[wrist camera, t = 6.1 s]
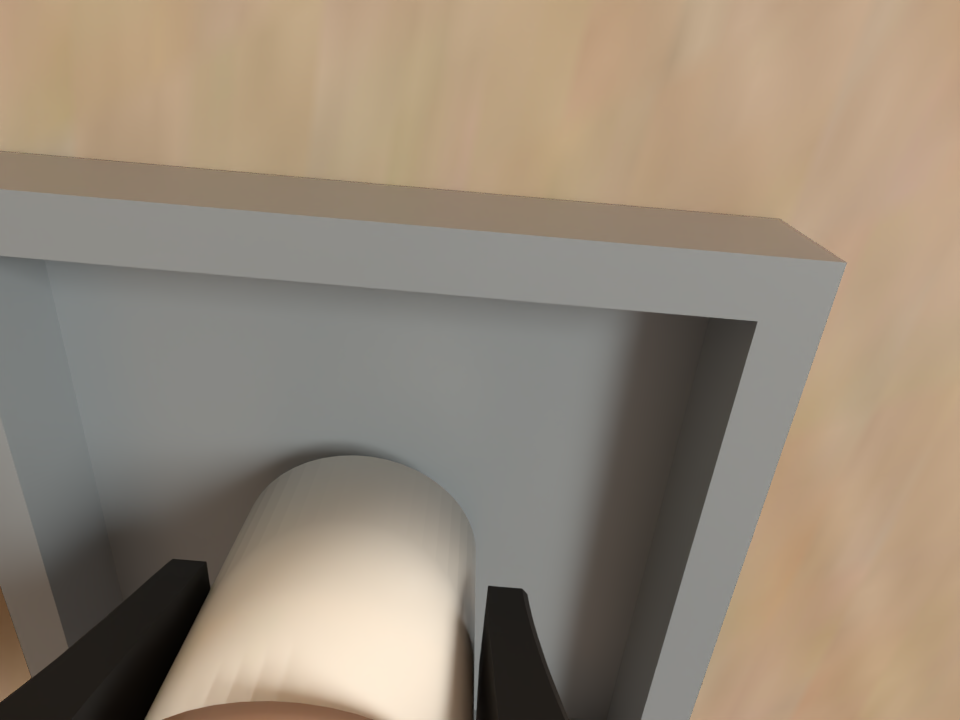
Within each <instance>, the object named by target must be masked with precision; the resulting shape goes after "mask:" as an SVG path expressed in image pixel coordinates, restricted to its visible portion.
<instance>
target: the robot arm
mask: <svg viewBox="0 0 960 720" xmlns="http://www.w3.org/2000/svg"><path fill="white" fill-rule="evenodd" d="M209 591H210V582H209V575H208V568H207V562H206V561H194V560H182V559H172V560H170V561H169V562H168V563H167V564H165V565H164V566H163V567H162V568H161V569H160V570H158V571H157V572H156V573H155V574H154V575H153V576H151V577H150V578H149V579H148V580H147V581H146V582H145V583H144V584H142V585H141V586H140V587H139V588H138V589H137V590H136V591H134V592H133V593H132V594H131V595H130V596H129V597H128V598H127V599H125V600H124V601H123V602H122V603H121V604H120V605H119V606H117V607H116V608H115V609H114V610H113V611H112V612H111V613H109V614H108V615H107V616H106V617H105V618H104V619H103V620H101V621H100V622H99V623H98V624H97V625H96V626H94V627H93V628H92V629H91V630H90V631H88V632H87V633H86V634H85V635H84V636H82V637H81V638H80V639H79V640H78V641H77V642H75V643H74V644H73V645H72V646H71V647H69V648H68V649H67V650H66V651H65V652H64V653H62V654H61V655H60V656H59V657H57V658H56V659H55V660H54V661H53V662H51V663H50V664H49V665H48V666H46V667H45V668H44V669H43V670H41V671H40V672H39V673H37V674H36V675H35V676H34V677H32V678H31V679H30V680H29V681H27V682H26V683H25V684H23V685H22V686H21V687H20V688H18V689H17V690H16V691H15V692H13V693H12V694H11V695H9V696H8V697H7V698H6V699H4V700H3V701H2V702H0V720H144V719H145V717H146V716H147V714H148V712H149V710H150V708H151V706H152V704H153V702H154V700H155V698H156V696H157V694H158V692H159V690H160V688H161V686H162V684H163V682H164V680H165V678H166V676H167V674H168V672H169V670H170V668H171V666H172V664H173V662H174V660H175V658H176V656H177V654H178V652H179V651H180V649H181V647H182V645H183V643H184V641H185V639H186V637H187V635H188V633H189V631H190V629H191V627H192V625H193V623H194V621H195V619H196V617H197V615H198V613H199V611H200V609H201V607H202V605H203V603H204V601H205V599H206V597H207V595H208V593H209ZM476 720H569V718H568V716H567V713H566V711H565V709H564V706H563V704H562V701H561V699H560V696H559V694H558V691H557V688H556V686H555V683H554V681H553V678H552V676H551V673H550V670H549V668H548V665H547V662H546V659H545V656H544V653H543V650H542V647H541V644H540V641H539V638H538V635H537V632H536V628H535V625H534V621H533V617H532V613H531V609H530V605H529V600H528V594H527V593H526V592H525V591H524V590H523V589H522V588H510V587H498V586H488V590H487V599H486V608H485V616H484V625H483V634H482V643H481V652H480V660H479V674H478V691H477V710H476Z"/></svg>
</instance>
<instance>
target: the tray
mask: <svg viewBox="0 0 960 720" xmlns="http://www.w3.org/2000/svg"><path fill="white" fill-rule="evenodd" d="M846 264H847V263H846V262H845V261H843V260H842V259H840V258H839V257H837V256H836V255H834V254H833V253H831V252H830V251H828V250H827V249H825V248H824V247H822V246H820V245H819V244H817V243H816V242H814V241H813V240H811V239H810V238H808V237H807V236H805V235H804V234H802V233H801V232H799V231H798V230H796V229H794V228H793V227H791V226H790V225H788V224H787V223H785V222H784V221H782V220H781V219H774V218H763V217H751V216H740V215H728V214H717V213H705V212H694V211H682V210H671V209H659V208H648V207H636V206H625V205H613V204H602V203H590V202H579V201H567V200H556V199H544V198H533V197H521V196H510V195H498V194H487V193H476V192H464V191H453V190H441V189H430V188H418V187H407V186H395V185H384V184H372V183H361V182H349V181H338V180H326V179H315V178H303V177H292V176H280V175H269V174H257V173H246V172H234V171H223V170H211V169H200V168H189V167H177V166H166V165H154V164H143V163H131V162H120V161H108V160H97V159H85V158H74V157H62V156H51V155H39V154H28V153H16V152H5V151H0V587H1V589H2V592H3V595H4V598H5V601H6V604H7V607H8V610H9V613H10V616H11V619H12V622H13V625H14V628H15V631H16V633H17V636H18V639H19V642H20V645H21V648H22V651H23V654H24V657H25V660H26V663H27V666H28V669H29V672H30V675H31V678H32V677H34V676H35V675H36V674H37V673H39V672H40V671H41V670H43V669H44V668H45V667H46V666H48V665H49V664H50V663H51V662H53V661H54V660H55V659H56V658H57V657H59V656H60V655H61V654H62V653H64V652H65V651H66V650H67V649H68V648H69V647H71V646H72V645H73V644H74V643H75V642H77V641H78V640H79V639H80V638H81V637H82V636H84V635H85V634H86V633H87V632H88V631H90V630H91V629H92V628H93V627H94V626H96V625H97V624H98V623H99V622H100V621H101V620H103V619H104V618H105V617H106V616H107V615H108V614H109V613H111V612H112V611H113V610H114V609H115V608H116V607H117V606H119V605H120V604H121V603H122V602H123V601H124V600H125V599H127V598H128V597H129V596H130V595H131V594H132V593H133V592H134V591H136V590H137V589H138V588H139V587H140V586H141V585H142V584H144V583H145V582H146V581H147V580H148V579H149V578H150V577H151V576H153V575H154V574H155V573H156V572H157V571H158V570H160V569H161V568H162V567H163V566H164V565H165V564H167V563H168V562H169V561H170V560H172V559H182V560H194V561H206V562H207V568H208V575H209V582H210V589H211V587H212V586H213V584H214V582H215V580H216V578H217V576H218V574H219V572H220V570H221V568H222V566H223V564H224V562H225V560H226V558H227V556H228V554H229V552H230V550H231V548H232V546H233V544H234V542H235V540H236V538H237V536H238V534H239V532H240V530H241V528H242V526H243V524H244V522H245V521H246V519H247V517H248V515H249V513H250V511H251V509H252V507H253V505H254V503H255V501H256V500H257V499H258V497H259V496H260V494H261V493H262V492H263V491H264V490H265V489H266V487H267V486H268V485H269V484H270V483H272V482H273V481H274V480H275V479H277V478H278V477H279V476H281V475H282V474H284V473H286V472H287V471H289V470H291V469H293V468H295V467H297V466H299V465H302V464H304V463H307V462H310V461H314V460H318V459H321V458H327V457H334V456H349V455H357V456H370V457H376V458H381V459H386V460H390V461H393V462H396V463H400V464H403V465H405V466H407V467H410V468H412V469H414V470H417V471H419V472H420V473H422V474H424V475H426V476H427V477H429V478H431V479H432V480H433V481H435V482H436V483H437V484H439V485H440V486H441V487H443V488H444V489H445V490H446V491H447V492H448V493H449V494H450V495H451V496H452V497H453V498H454V499H455V501H456V502H457V503H458V504H459V506H460V507H461V508H462V510H463V512H464V513H465V515H466V517H467V518H468V521H469V523H470V526H471V528H472V530H473V535H474V539H475V547H476V587H475V663H474V720H476V710H477V691H478V674H479V660H480V652H481V643H482V634H483V625H484V616H485V608H486V599H487V590H488V586H498V587H510V588H522V589H523V590H524V591H525V592H526V593H527V594H528V600H529V605H530V609H531V613H532V617H533V621H534V625H535V628H536V632H537V635H538V638H539V641H540V644H541V647H542V650H543V653H544V656H545V659H546V662H547V665H548V668H549V670H550V673H551V676H552V678H553V681H554V683H555V686H556V688H557V691H558V694H559V696H560V699H561V701H562V704H563V706H564V709H565V711H566V713H567V716H568V718H569V720H689V719H690V717H691V714H692V711H693V708H694V705H695V702H696V699H697V696H698V693H699V690H700V688H701V685H702V682H703V679H704V676H705V673H706V670H707V667H708V664H709V661H710V658H711V656H712V653H713V650H714V647H715V644H716V641H717V638H718V635H719V632H720V629H721V627H722V624H723V621H724V618H725V615H726V612H727V609H728V606H729V603H730V600H731V598H732V595H733V592H734V589H735V586H736V583H737V580H738V577H739V574H740V571H741V568H742V566H743V563H744V560H745V557H746V554H747V551H748V548H749V545H750V542H751V539H752V537H753V534H754V531H755V528H756V525H757V522H758V519H759V516H760V513H761V510H762V507H763V505H764V502H765V499H766V496H767V493H768V490H769V487H770V484H771V481H772V478H773V476H774V473H775V470H776V467H777V464H778V461H779V458H780V455H781V452H782V449H783V447H784V444H785V441H786V438H787V435H788V432H789V429H790V426H791V423H792V420H793V417H794V415H795V412H796V409H797V406H798V403H799V400H800V397H801V394H802V391H803V388H804V386H805V383H806V380H807V377H808V374H809V371H810V368H811V365H812V362H813V359H814V357H815V354H816V351H817V348H818V345H819V342H820V339H821V336H822V333H823V330H824V327H825V325H826V322H827V319H828V316H829V313H830V310H831V307H832V304H833V301H834V298H835V296H836V293H837V290H838V287H839V284H840V281H841V278H842V275H843V272H844V269H845V267H846Z"/></svg>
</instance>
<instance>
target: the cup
mask: <svg viewBox="0 0 960 720" xmlns="http://www.w3.org/2000/svg"><path fill="white" fill-rule="evenodd" d="M475 587H476V547H475V539H474V535H473V530H472V528H471V526H470V523H469V521H468V518H467V517H466V515H465V513H464V512H463V510H462V508H461V507H460V506H459V504H458V503H457V502H456V501H455V499H454V498H453V497H452V496H451V495H450V494H449V493H448V492H447V491H446V490H445V489H444V488H443V487H441V486H440V485H439V484H437V483H436V482H435V481H433V480H432V479H431V478H429V477H427V476H426V475H424V474H422V473H420V472H419V471H417V470H414V469H412V468H410V467H407V466H405V465H403V464H400V463H396V462H393V461H390V460H386V459H381V458H376V457H370V456H357V455H349V456H334V457H327V458H321V459H318V460H314V461H310V462H307V463H304V464H302V465H299V466H297V467H295V468H293V469H291V470H289V471H287V472H286V473H284V474H282V475H281V476H279V477H278V478H277V479H275V480H274V481H273V482H272V483H270V484H269V485H268V486H267V487H266V489H265V490H264V491H263V492H262V493H261V494H260V496H259V497H258V499H257V500H256V501H255V503H254V505H253V507H252V509H251V511H250V513H249V515H248V517H247V519H246V521H245V522H244V524H243V526H242V528H241V530H240V532H239V534H238V536H237V538H236V540H235V542H234V544H233V546H232V548H231V550H230V552H229V554H228V556H227V558H226V560H225V562H224V564H223V566H222V568H221V570H220V572H219V574H218V576H217V578H216V580H215V582H214V584H213V586H212V587H211V589H210V591H209V593H208V595H207V597H206V599H205V601H204V603H203V605H202V607H201V609H200V611H199V613H198V615H197V617H196V619H195V621H194V623H193V625H192V627H191V629H190V631H189V633H188V635H187V637H186V639H185V641H184V643H183V645H182V647H181V649H180V651H179V652H178V654H177V656H176V658H175V660H174V662H173V664H172V666H171V668H170V670H169V672H168V674H167V676H166V678H165V680H164V682H163V684H162V686H161V688H160V690H159V692H158V694H157V696H156V698H155V700H154V702H153V704H152V706H151V708H150V710H149V712H148V714H147V716H146V717H145V719H144V720H474V663H475Z"/></svg>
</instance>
